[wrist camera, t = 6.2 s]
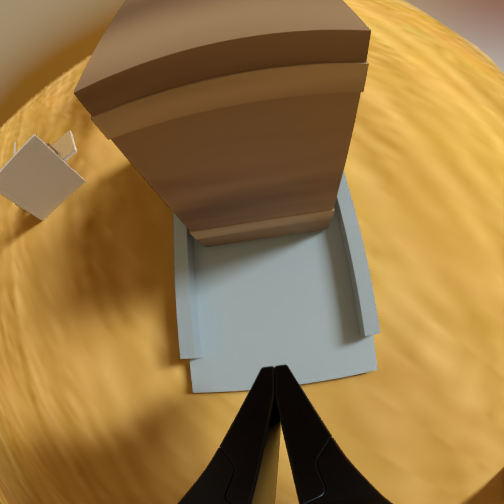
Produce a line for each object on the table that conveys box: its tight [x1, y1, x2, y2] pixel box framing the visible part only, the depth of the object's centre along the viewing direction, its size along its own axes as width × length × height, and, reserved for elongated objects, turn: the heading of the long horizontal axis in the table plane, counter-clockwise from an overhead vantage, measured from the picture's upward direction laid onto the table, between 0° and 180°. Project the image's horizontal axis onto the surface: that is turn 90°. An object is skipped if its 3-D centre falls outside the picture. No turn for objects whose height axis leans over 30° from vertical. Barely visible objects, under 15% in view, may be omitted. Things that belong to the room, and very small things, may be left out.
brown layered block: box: [74, 0, 371, 247], centre depth 12 cm, size 7×7×12 cm
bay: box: [173, 171, 380, 393], centre depth 13 cm, size 18×10×9 cm, turn 6°
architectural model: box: [0, 130, 86, 221], centre depth 18 cm, size 3×7×7 cm, turn 124°
